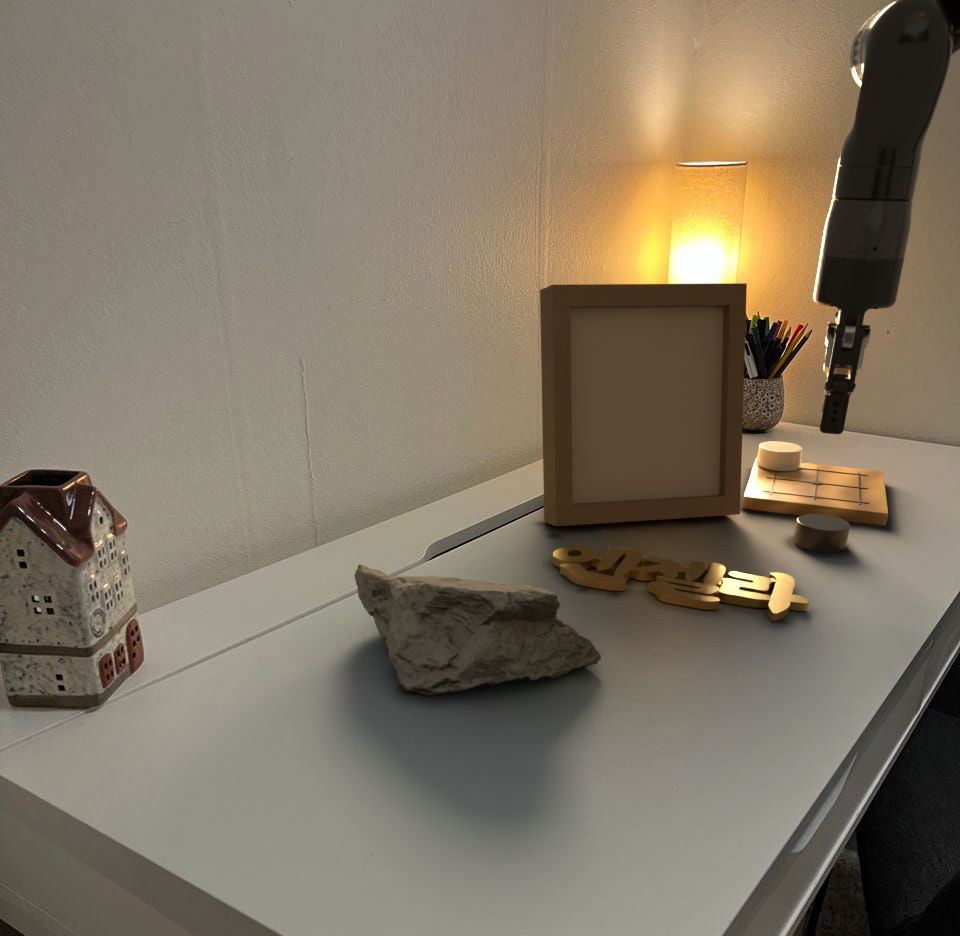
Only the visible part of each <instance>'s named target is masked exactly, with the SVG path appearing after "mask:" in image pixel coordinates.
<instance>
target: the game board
mask: <svg viewBox="0 0 960 936" xmlns="http://www.w3.org/2000/svg"><path fill="white" fill-rule="evenodd" d="M885 483H886V482H885V474H884V471H882V470H873V469H864V468H856V467H855V468H854V467H845V466H837V465H835V466H834V465H827V464H818V463H817V464H816V463H806V462H800V467H799V469H797V470H794V471H774V470H769V469H765V468H762V467H760V466H758V465H757V457H756V458H755V460H754V463H753V465H752V469H751V471H750V476H749V479H748V481H747V484H746V488H745V491H744V494H743V498H742V503H741V509H743V510H749V511H750V510H752V511H759V512H767V513H776V514H783V515H784V514H785V515H792V516H793V515H794V516H799V517H800V516H802V515H806V514H823V515H830V516H834V517H838V518H841V519H843V520H845V521H847V522H848V523H849V522H850V523H858V524H867V525H875V526H881V527H882V526H884V527H886V526H887V521H888V517H889V510H888V500H887V492H886V484H885Z"/></svg>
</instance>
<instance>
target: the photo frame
mask: <svg viewBox="0 0 960 936" xmlns="http://www.w3.org/2000/svg"><path fill="white" fill-rule="evenodd" d="M747 285H748V283H746V282H745V283H744V282H741V283H740V282H739V283H738V282H737V283H735V282H734V283H613V284H612V283H607V284H606V283H605V284H602V283H601V284H599V283H598V284H597V283H596V284H594V283H593V284H592V283H591V284H590V283H589V284H583V283H582V284H551V285H549V286H546V287H543V288H541V289H539V310H540V311H539V312H540V313H539V315H540V359H541V360H540V365H541V369H540V370H541V372H540V373H541V415H542V416H541V417H542V418H541V420H542V470H543V472H542V473H543V476H542V477H543V522H544V523H546V524H549V525H551V526H554V527H565V526H567V527H568V526H581V525H596V524H611V523H612V524H614V523H625V522H627V523H628V522H643V521H645V522H646V521H658V520H675V519H688V518H690V519H691V518H705V517H706V518H707V517H721V516H736V515H741V492H742V490H741V489H742V487H741V486H742V457H743V456H742V455H743V426H744V425H743V422H744V421H743V419H744V387H745V359H746V357H745V355H746V354H745V353H746V323H747V322H746V321H747V320H746V319H747V292H748V291H747V287H748V286H747Z"/></svg>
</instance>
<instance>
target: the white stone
mask: <svg viewBox="0 0 960 936" xmlns="http://www.w3.org/2000/svg"><path fill="white" fill-rule="evenodd" d="M803 450H804V449H803V447H802V446H800V445H799V444H796V443H792V442H786V441H778V440H775V441H774V440H773V441H772V440H771V441H770V440H769V441H763V442H761V443H759V446H758V451H757V457H756V458H757V465H758V466H760V467H762V468H765V469H769V470H774V471H794V470H797V469H799V467H800V463H802V457H803V456H802V455H803Z"/></svg>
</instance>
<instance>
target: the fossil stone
mask: <svg viewBox="0 0 960 936" xmlns="http://www.w3.org/2000/svg"><path fill="white" fill-rule="evenodd" d="M354 580H355V584H356V586H357V596H358V598H359V600H360V602H361V604H362V606H363V609H365V610H366V612H367V614H368V615H369V616H370V617H372V618H373V621H374V624H375V627H376V629H377V631H378V633H379V635H380V637H381V638H382V640H383V641H384V643H385V645H386V647H387V649H388V658H389V660H390V662H391V664H392V666H393V668H394V670H395V672H396V676H397V681H398V683H399V684H400V687H402V688H403V689H404V690H405V691H406V692H407V693H410V694H419V695H422V696H431V697H432V696H434V695H441V694H449V693H458V692H459V693H460V692H461V693H462V692H465V691H468V690H470V689H473V688H475V687H486V688H490V687H493V686H495V685H499V684H504V683H508V682H511V681H513V682H514V681H518V682H520V681H522V680H525V681H527V682H533V681H537V680H554V679H558V678H561V677H563V676H565V675H567V674H569V673H571V672H573V671H578V670H585V669H586V668H588V667H591V666H594V665H595V666H596V665H598V663H599V661H600V660H601V659H602V656H601V654H600V652H599V651H598V650H597V648H596V647H595V644H594V643H593V642H592V640H591V639H590V638H588V637H586V636H584V635H583V634H581V633H580V632H578V631H577V630H576V629H575V628H574V627H573V626H572V625H569V624H568V623H565V622H563V620H561V619H560V618H559V617H558V615H557V614H558V610H559V609H560V607H561V603H560V601H559V599H558V595H557V594H556V593H554V592H553V591H550V590H548V589H544V588H542V587H538V586H534V585H529V584H525V585H523V584H522V585H521V584H516V583H513V582H499V583H494V582H489V581H487V580H486V581H484V580H476V579H471V578H467V579H466V578H460V577H455V576H436V575H435V576H434V575H429V576H415V575H411V576H409V575H408V576H407V575H406V576H404V575H403V576H393V575H389V574H387V573H385V572H383V571H382V570H379V569H376V568H371V567H368V566H367V565H363V564H358V565H357V569H356V570H355V572H354Z"/></svg>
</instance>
